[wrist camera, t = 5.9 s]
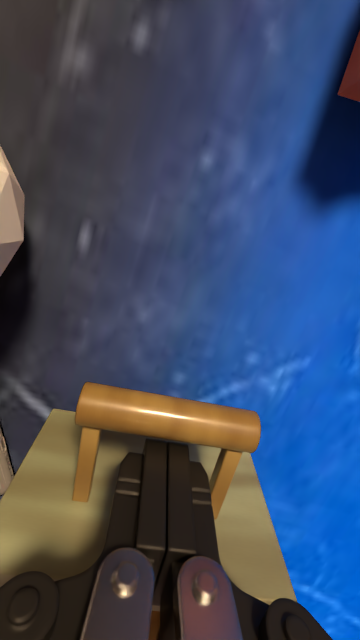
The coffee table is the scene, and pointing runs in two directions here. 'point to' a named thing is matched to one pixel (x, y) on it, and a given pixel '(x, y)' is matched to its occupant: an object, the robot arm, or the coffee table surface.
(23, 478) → the drawer
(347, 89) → the toy block
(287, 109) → the coffee table surface
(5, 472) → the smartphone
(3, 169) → the geometric ball
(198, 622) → the robot arm
